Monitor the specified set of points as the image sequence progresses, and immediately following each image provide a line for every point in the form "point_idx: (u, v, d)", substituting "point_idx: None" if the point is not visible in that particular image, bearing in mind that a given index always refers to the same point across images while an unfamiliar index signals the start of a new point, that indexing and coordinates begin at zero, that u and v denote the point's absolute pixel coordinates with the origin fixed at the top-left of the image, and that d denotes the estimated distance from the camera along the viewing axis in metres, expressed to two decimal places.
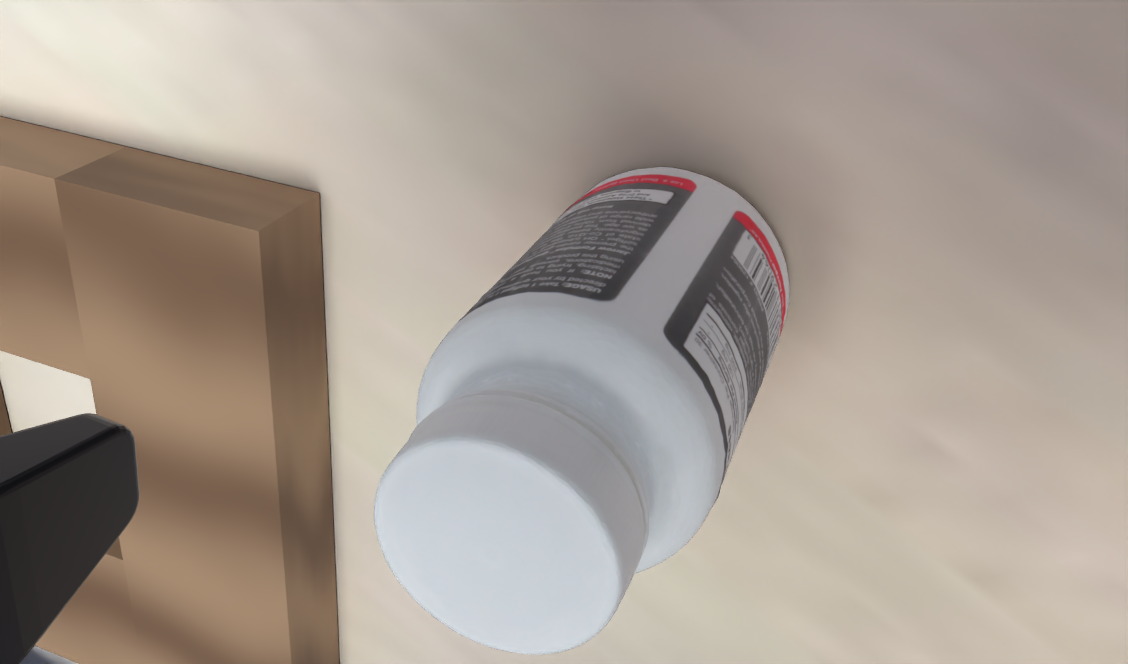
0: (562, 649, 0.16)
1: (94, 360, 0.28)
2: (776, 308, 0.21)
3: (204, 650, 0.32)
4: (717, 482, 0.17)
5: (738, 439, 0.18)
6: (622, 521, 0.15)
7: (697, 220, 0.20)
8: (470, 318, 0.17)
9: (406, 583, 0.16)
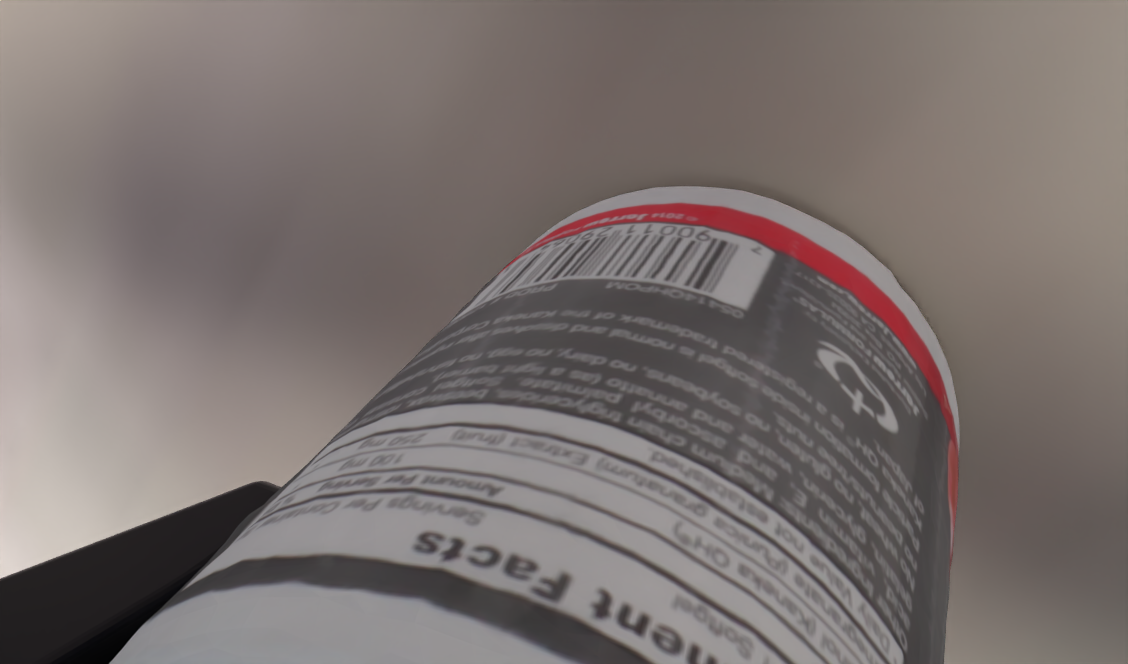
0: None
1: None
2: (635, 240, 0.09)
3: None
4: None
5: (654, 472, 0.06)
6: None
7: None
8: None
9: None
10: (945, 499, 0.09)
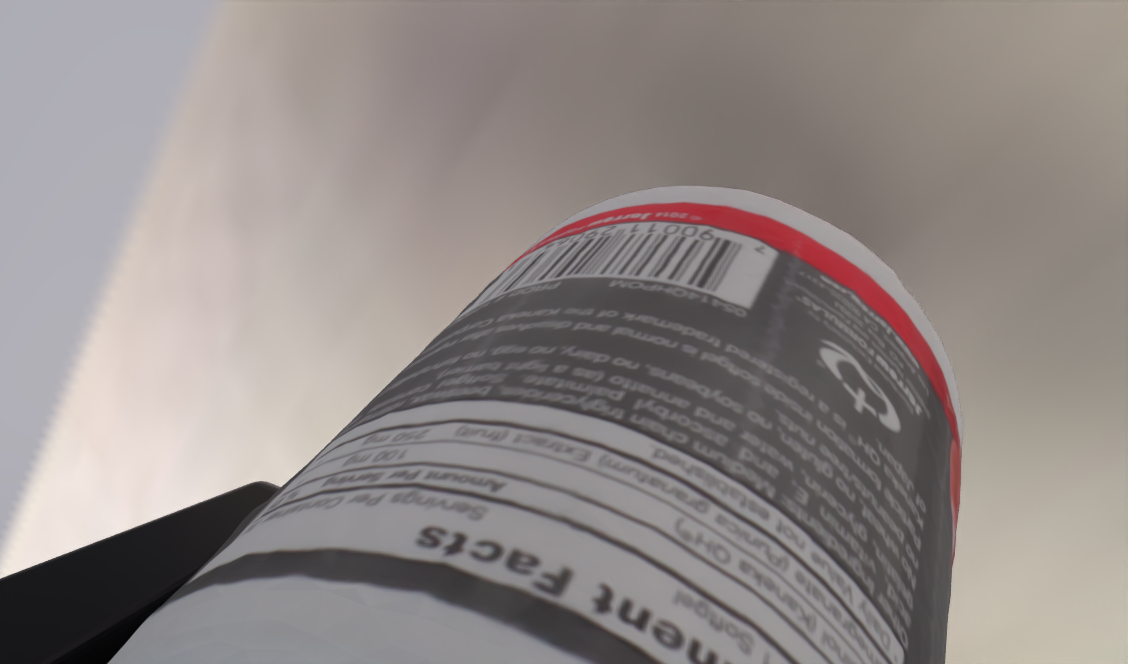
0: None
1: None
2: (639, 239, 0.09)
3: None
4: None
5: (655, 469, 0.06)
6: None
7: None
8: None
9: None
10: (947, 498, 0.09)
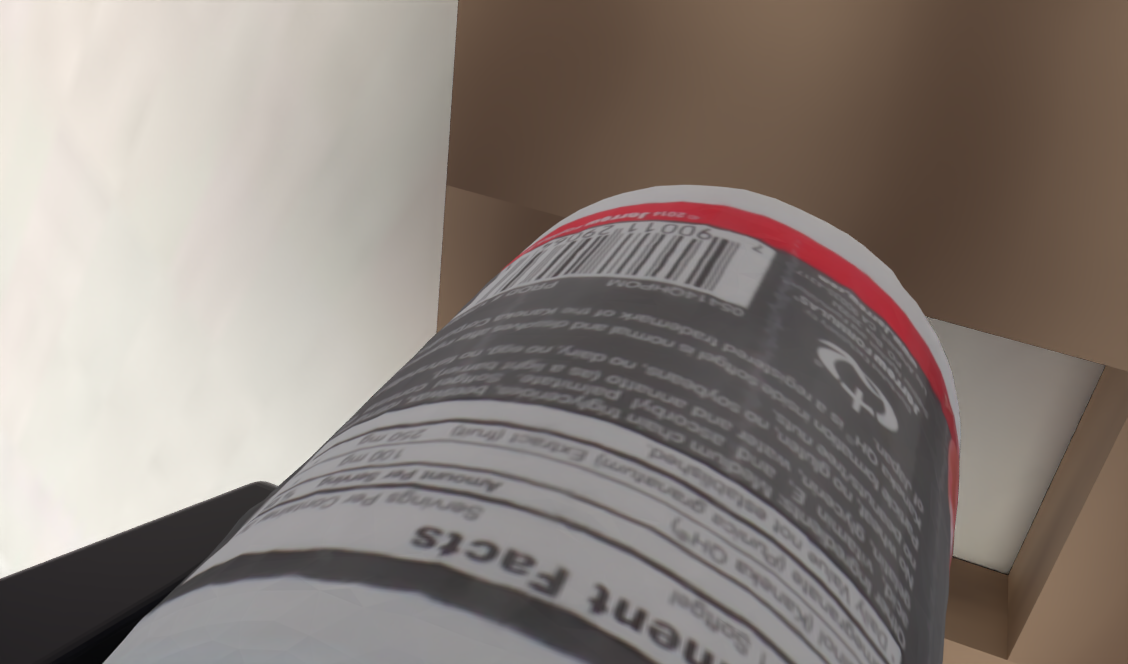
0: None
1: None
2: (636, 238, 0.09)
3: None
4: None
5: (652, 469, 0.06)
6: None
7: None
8: None
9: None
10: (945, 498, 0.09)
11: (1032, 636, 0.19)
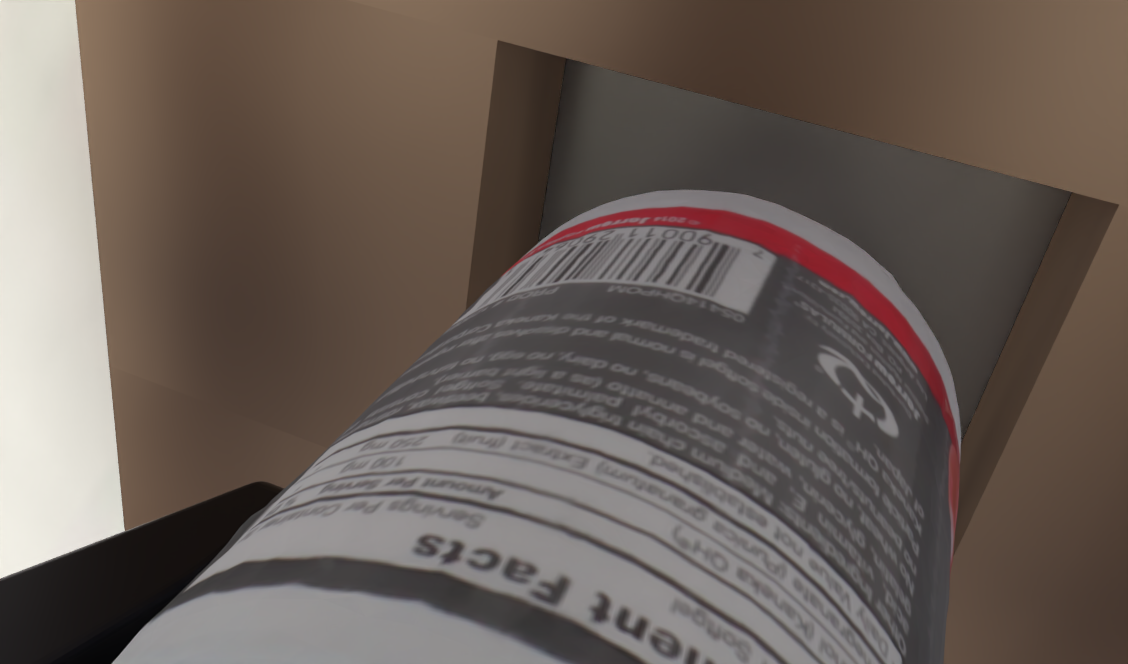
0: None
1: (444, 1, 0.11)
2: (637, 244, 0.09)
3: None
4: None
5: (653, 477, 0.06)
6: None
7: None
8: None
9: None
10: (945, 504, 0.09)
11: None
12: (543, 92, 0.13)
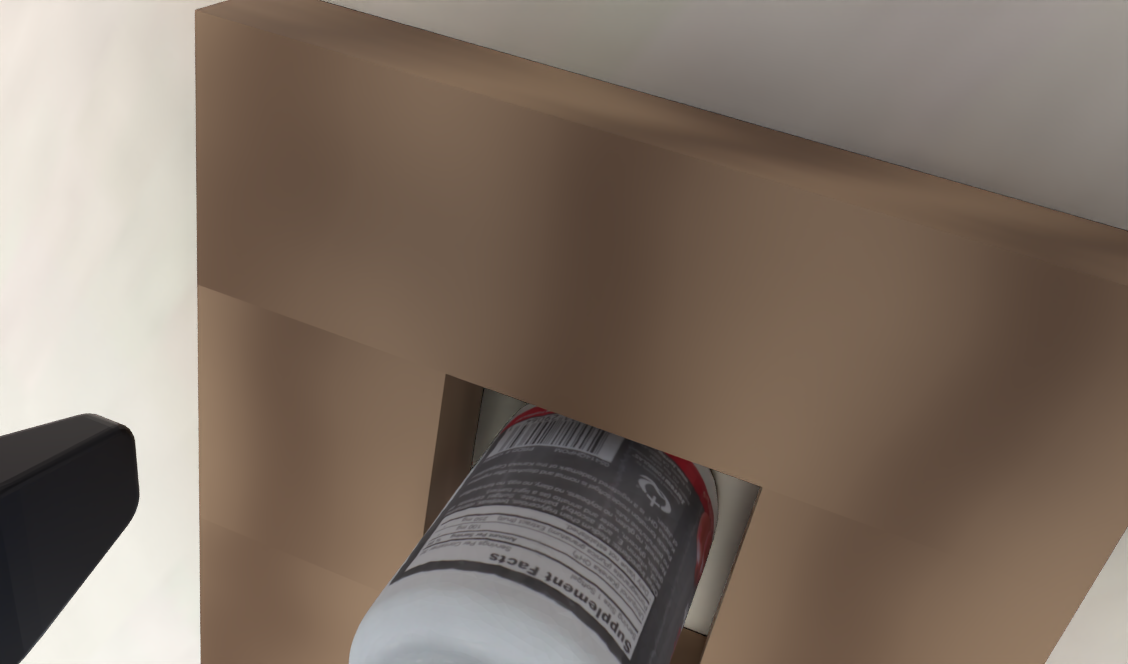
0: None
1: (416, 351, 0.21)
2: (568, 424, 0.21)
3: (955, 421, 0.17)
4: (505, 595, 0.17)
5: (567, 533, 0.18)
6: None
7: (467, 475, 0.22)
8: None
9: None
10: (694, 539, 0.21)
11: None
12: None
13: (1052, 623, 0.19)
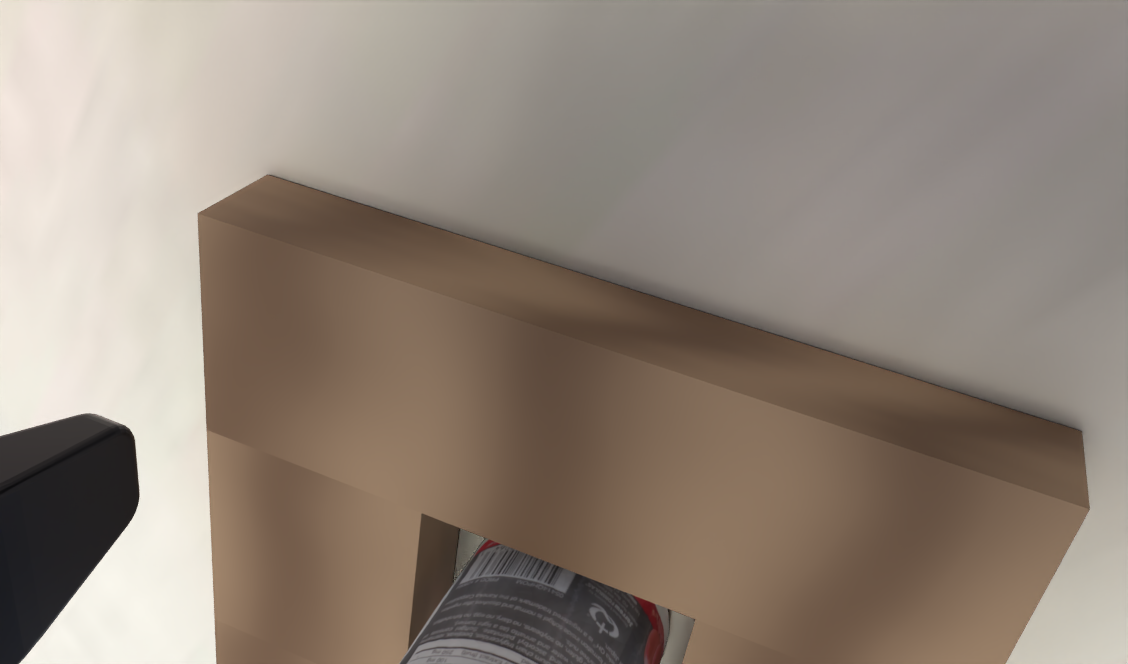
0: None
1: (395, 494, 0.24)
2: None
3: (853, 574, 0.20)
4: None
5: None
6: None
7: None
8: None
9: None
10: (641, 657, 0.23)
11: None
12: None
13: None
